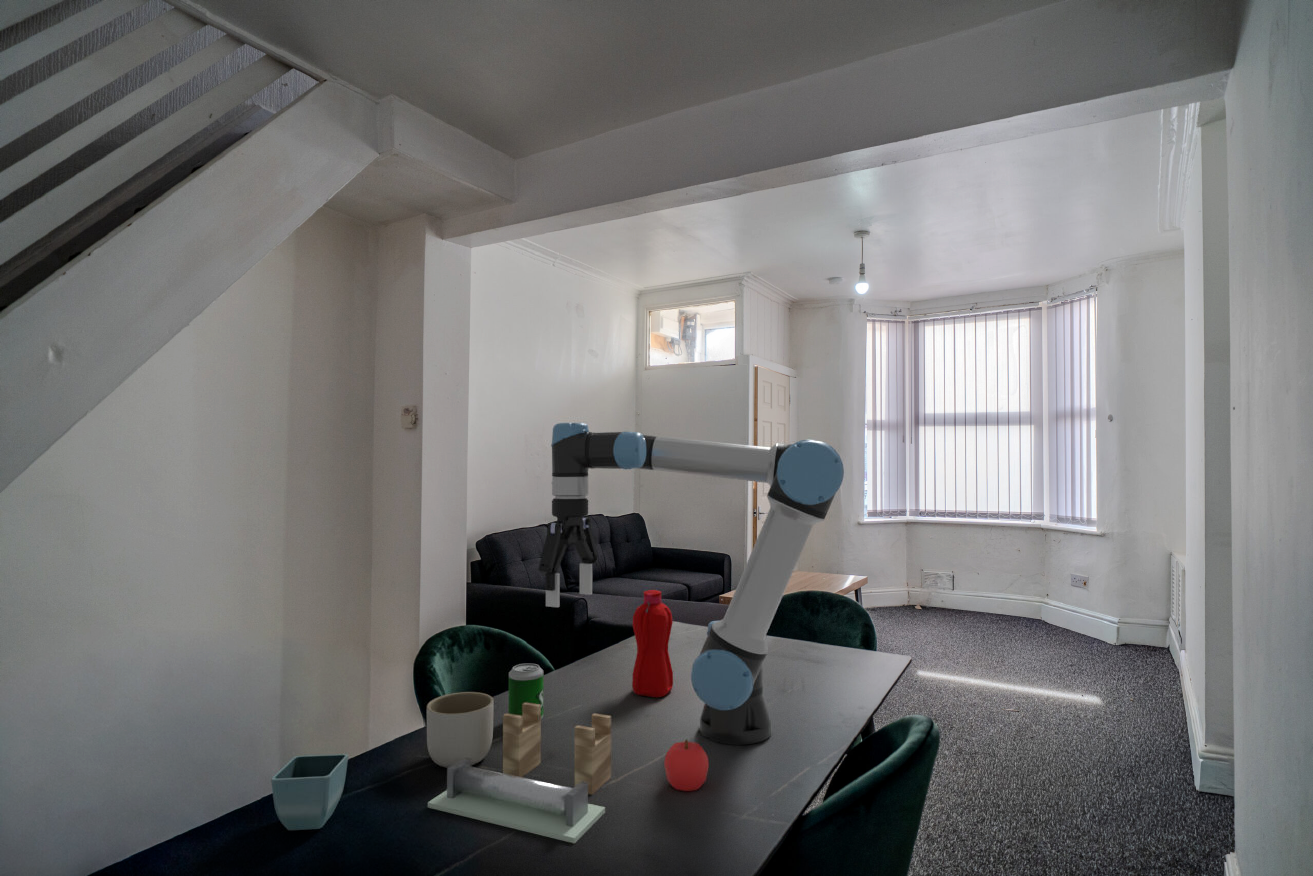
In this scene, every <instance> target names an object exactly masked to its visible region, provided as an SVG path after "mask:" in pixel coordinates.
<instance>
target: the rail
mask: <svg viewBox="0 0 1313 876" xmlns="http://www.w3.org/2000/svg"><path fill="white" fill-rule="evenodd" d="M446 790H447V797H448V798H452V799H453V798H454V797H456V796H457V795H459V794H460V793H462V792H465V793H469V794H474V795H478V796H482V797H487V798H491V799H495V800H500V801H504V802H508V803H513V804H517V805H521V806H526V807H530V808H535V809H539V810H543V811H548V812H552V813H556V814H561V815H565V816H566V826H571V827H573V826H574V825H576V824H577V823H578V822H579V821H580V820H581V819H582V818H583V817H584V816H585V815H586V814H587V813H588V804H589V794H588V782H584V781H581V782H580V783H579V784H577V785H576V786H575V785H574V787H570V786H564V785H560V784H555V783H549V782H547V781H546V782H545V781H540V780H537V779H530V778H527V777H524V776H523V777H518V776H513V775H508V774H504V773H503V772H498V771H494V770H490V769H485V768H481V767H475V766H472V765H471V758H466V757H465V758H464V759H462V760H460V761H459V762H457V763H455V764H454V765H452V766H451V767H449V768H446Z"/></svg>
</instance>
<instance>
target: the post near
mask: <svg viewBox="0 0 1313 876" xmlns="http://www.w3.org/2000/svg"><path fill="white" fill-rule="evenodd" d="M610 779H612V716H611V715H607V714H601V713H592V714H591V727H589V726H583V725H579V724H578V725H575V726H574V787H575V786H576V785H577V784H579V783H580V782H581V781H584V782H588V795H590V796H591V795H592V796H593V795H594V794H595V793H596V792H597V791H598V790H599V789H600V788H601V787H602V786H603V785H605V783H607V782H608V781H609V780H610Z"/></svg>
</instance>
